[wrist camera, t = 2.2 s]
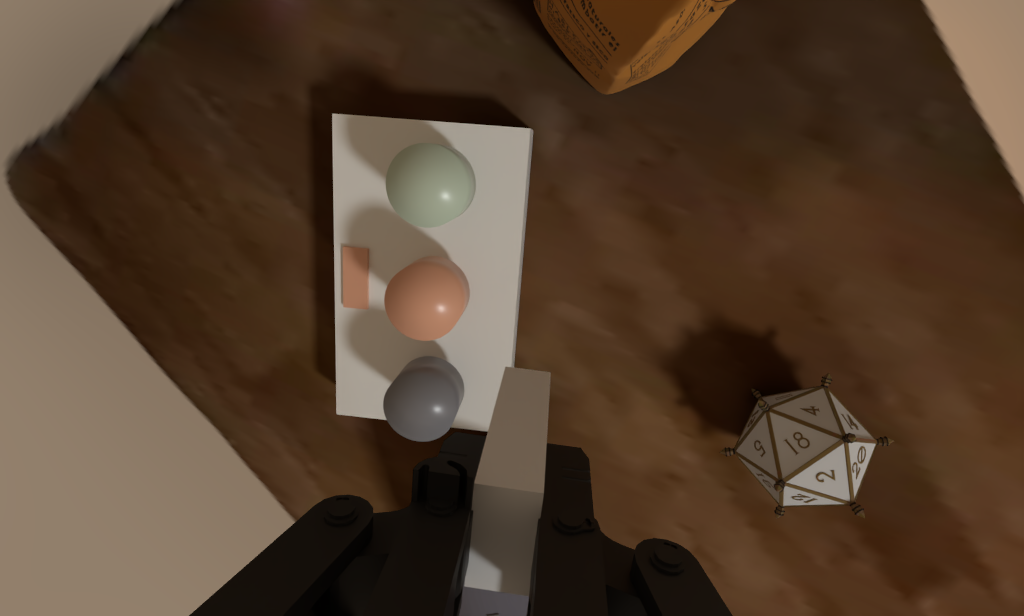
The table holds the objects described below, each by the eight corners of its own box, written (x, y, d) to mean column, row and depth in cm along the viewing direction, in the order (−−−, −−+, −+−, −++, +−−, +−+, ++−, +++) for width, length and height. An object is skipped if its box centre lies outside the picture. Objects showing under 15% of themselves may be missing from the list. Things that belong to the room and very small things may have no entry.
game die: (760, 371, 41) (847, 331, 32) (843, 463, 39) (963, 448, 30) (678, 445, 39) (747, 425, 29) (763, 546, 37) (866, 559, 28)
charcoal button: (462, 422, 36) (453, 445, 33) (397, 414, 36) (382, 437, 33) (466, 359, 34) (457, 378, 32) (398, 352, 35) (383, 370, 32)
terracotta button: (468, 328, 34) (459, 344, 31) (399, 321, 34) (383, 336, 31) (471, 259, 33) (462, 269, 30) (400, 252, 33) (384, 261, 30)
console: (509, 413, 40) (505, 435, 37) (352, 396, 41) (334, 416, 38) (533, 130, 35) (530, 128, 31) (351, 117, 35) (330, 113, 32)
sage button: (473, 224, 32) (464, 231, 29) (401, 218, 32) (385, 223, 30) (478, 147, 31) (469, 146, 28) (402, 141, 31) (386, 139, 28)
